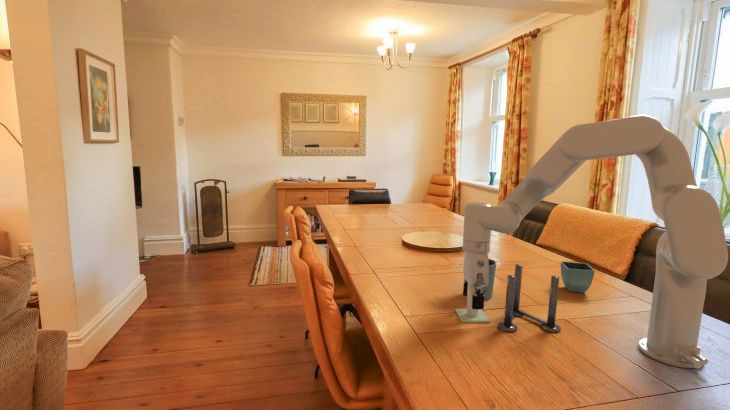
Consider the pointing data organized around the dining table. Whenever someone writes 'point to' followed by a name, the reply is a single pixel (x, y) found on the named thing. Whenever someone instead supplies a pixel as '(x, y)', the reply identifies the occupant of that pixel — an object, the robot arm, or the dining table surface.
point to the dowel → (471, 311)
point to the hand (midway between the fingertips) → (472, 302)
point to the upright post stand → (514, 310)
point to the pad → (465, 318)
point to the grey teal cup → (490, 279)
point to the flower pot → (577, 276)
